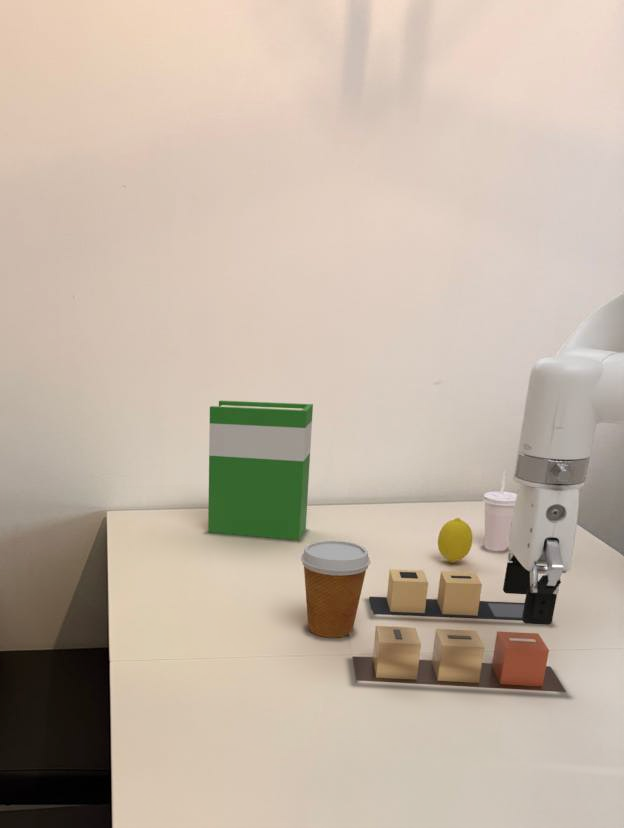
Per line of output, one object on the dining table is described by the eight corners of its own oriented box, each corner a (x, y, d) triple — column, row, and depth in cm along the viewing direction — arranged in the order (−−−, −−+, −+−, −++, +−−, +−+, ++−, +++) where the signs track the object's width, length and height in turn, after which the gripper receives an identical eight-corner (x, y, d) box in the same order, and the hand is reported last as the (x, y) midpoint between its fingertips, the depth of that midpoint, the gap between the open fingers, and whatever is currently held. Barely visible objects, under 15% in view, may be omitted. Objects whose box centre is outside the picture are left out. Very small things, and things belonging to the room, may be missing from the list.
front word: (550, 669, 112) (557, 630, 110) (565, 694, 106) (573, 653, 104) (352, 658, 116) (355, 621, 114) (356, 683, 109) (359, 643, 107)
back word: (538, 605, 132) (543, 571, 129) (550, 624, 125) (557, 588, 123) (369, 598, 135) (372, 565, 133) (373, 616, 129) (376, 581, 127)
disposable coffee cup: (356, 647, 119) (363, 565, 114) (288, 636, 123) (293, 556, 118) (370, 622, 127) (377, 544, 122) (306, 612, 131) (311, 536, 126)
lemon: (448, 555, 153) (453, 511, 150) (475, 563, 149) (482, 518, 146) (428, 561, 150) (433, 517, 147) (456, 570, 146) (462, 525, 143)
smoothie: (504, 541, 160) (515, 466, 154) (520, 552, 154) (533, 475, 149) (470, 542, 159) (480, 468, 154) (485, 554, 154) (496, 476, 148)
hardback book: (208, 532, 168) (209, 406, 159) (217, 521, 174) (220, 400, 165) (299, 540, 162) (306, 411, 153) (305, 528, 169) (313, 404, 160)
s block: (532, 668, 111) (538, 632, 109) (542, 686, 107) (549, 649, 105) (491, 666, 112) (497, 630, 110) (500, 684, 108) (506, 647, 106)
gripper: (611, 489, 91) (580, 638, 97) (563, 454, 107) (539, 584, 113) (535, 486, 92) (510, 634, 98) (499, 452, 108) (479, 581, 114)
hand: (525, 607), depth 106 cm, fingers open, 9 cm apart
